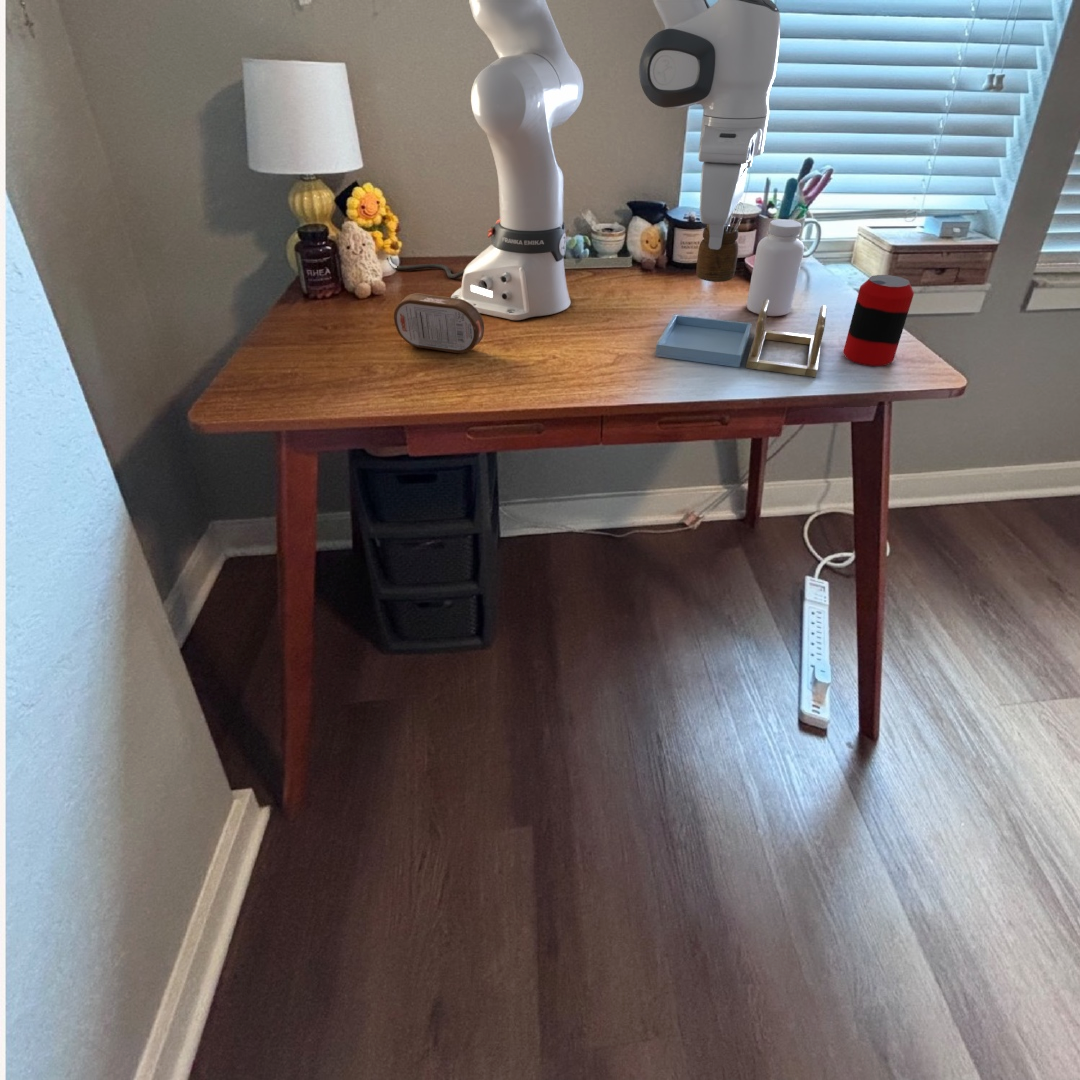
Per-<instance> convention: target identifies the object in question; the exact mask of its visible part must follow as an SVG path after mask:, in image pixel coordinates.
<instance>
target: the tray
mask: <svg viewBox="0 0 1080 1080" xmlns="http://www.w3.org/2000/svg"><path fill="white" fill-rule="evenodd" d="M752 324H753V323H751V322H743V321H733V320H727V319H719V318H718V319H717V318H709V317H702V316H701V317H700V316H691V315H684V314H682V315H681V314H673V315H672V317H671V319H670V320H669V322H668V324H667V325H666V327H665V329H664V331H663V333H662V334H661V336H660V337H659V340H658V341H657V343H656V345H655V355H654V356H655V357H658V358H665V359H673V360H681V361H688V362H694V363H695V362H697V363H703V364H712V365H719V366H726V367H734V368H740V366H741V362H742V360H743V357H744V354H745V350H746V348H747V345H748V341H749V338H750V335H751V330H752Z"/></svg>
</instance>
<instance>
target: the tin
mask: <svg viewBox="0 0 1080 1080" xmlns="http://www.w3.org/2000/svg"><path fill="white" fill-rule="evenodd" d="M393 320H394V321H393V322H394V325H395V329H396V331H397V333H398V335H399V336H400V337H401V338H402V339H403V340H404V342H406V343H407V344H408V345H411V346H412V347H415V348H419V349H427V350H432V351H433V350H434V351H442V352H448V353H454V354H465V353H468V352H470V351H471V350H473V349H474V348H475V347H476V346H477V345H478V344H479V343H480V342H481V341H482V339H483V337H484V333H485V324H484V320H483V317H482V315H481V313H479V312H478V310H477V309H476V308H475V307H474V306H473V305H472V304H470V303H469V302H467V301H465V300H462V299H457V298H451V297H450V296H439V295H433V294H425V293H419V292H418V293H417V292H416V293H410V294H408V295H406V296H405V297H404V298H402V300H401V301H400V302H399V303H398V304H397V305H396V307H395V309H394V312H393Z"/></svg>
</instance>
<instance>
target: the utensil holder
mask: <svg viewBox="0 0 1080 1080" xmlns="http://www.w3.org/2000/svg"><path fill="white" fill-rule="evenodd" d="M737 202H738V201H737ZM737 202H736V203H737ZM741 205H742V209H745V206H744V204H742V202H741V201H739V202H738V204H737V206H738V207H737V208H735V209H734V211H733V214H732V218H731V222H730V226H726V224H725V226H724V232H723V241H722V246H721V248H720V249H718V250H716V249H710V248H709V238H710V234H709V224H706V226H705V227H704V228H703V232H702V238H703V239H702V240H701V241H700V243H699V246H698V251H697V260H696V270H695V272H696V276H697V278H699V279H700V280H703V281H706V282H714V283H721V282H728V281H730V280H732V279H733V278H734V276H735V273H736V268H737V261H738V255H739V244H738V241H737V240H738V238H739V229H738V227H739V226H740V224H741V222H742V220H743V217H744V214H745V213H744V210H741V211H740V212H739V215H738V217H739V218H738V219H737V221H736V224H735V226H732V224H734V222H735V220H736V217H737V213H738V211H739V208H740V206H741ZM735 213H736V214H735ZM732 221H733V222H732ZM728 222H729V220H728Z"/></svg>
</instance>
